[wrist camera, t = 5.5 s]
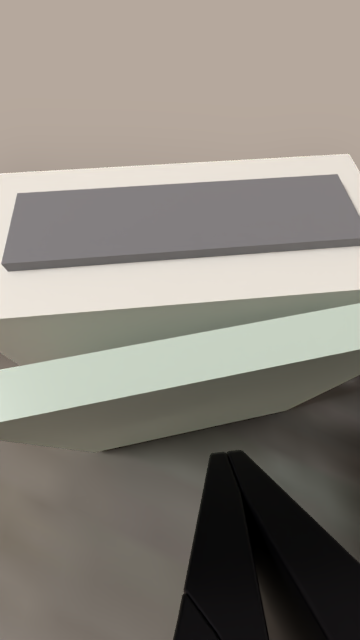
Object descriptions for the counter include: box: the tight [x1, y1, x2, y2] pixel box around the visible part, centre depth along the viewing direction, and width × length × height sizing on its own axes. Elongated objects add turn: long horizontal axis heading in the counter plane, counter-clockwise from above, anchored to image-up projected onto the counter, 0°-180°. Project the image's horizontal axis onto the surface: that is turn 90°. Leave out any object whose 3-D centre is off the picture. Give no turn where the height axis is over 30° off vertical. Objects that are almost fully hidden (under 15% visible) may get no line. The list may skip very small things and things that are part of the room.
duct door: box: [0, 303, 360, 453], centre depth 10 cm, size 1×10×10 cm, turn 101°
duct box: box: [0, 154, 360, 366], centre depth 12 cm, size 5×11×10 cm, turn 95°
